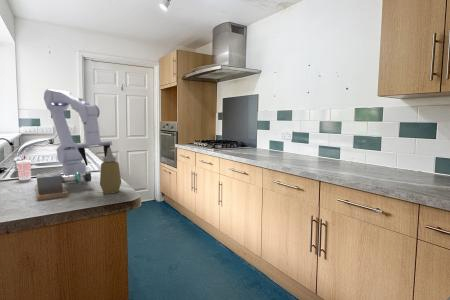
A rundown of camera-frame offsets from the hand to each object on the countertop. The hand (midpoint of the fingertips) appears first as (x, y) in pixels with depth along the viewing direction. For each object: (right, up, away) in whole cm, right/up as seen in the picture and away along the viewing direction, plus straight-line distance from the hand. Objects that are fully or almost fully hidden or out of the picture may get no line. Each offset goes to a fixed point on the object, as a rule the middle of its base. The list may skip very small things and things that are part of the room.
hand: (96, 164), depth 117 cm
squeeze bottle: (+9, -11, -7) cm, 16 cm away
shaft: (-9, -9, -3) cm, 13 cm away
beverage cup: (-43, -9, +16) cm, 47 cm away
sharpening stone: (-15, -11, -7) cm, 20 cm away
